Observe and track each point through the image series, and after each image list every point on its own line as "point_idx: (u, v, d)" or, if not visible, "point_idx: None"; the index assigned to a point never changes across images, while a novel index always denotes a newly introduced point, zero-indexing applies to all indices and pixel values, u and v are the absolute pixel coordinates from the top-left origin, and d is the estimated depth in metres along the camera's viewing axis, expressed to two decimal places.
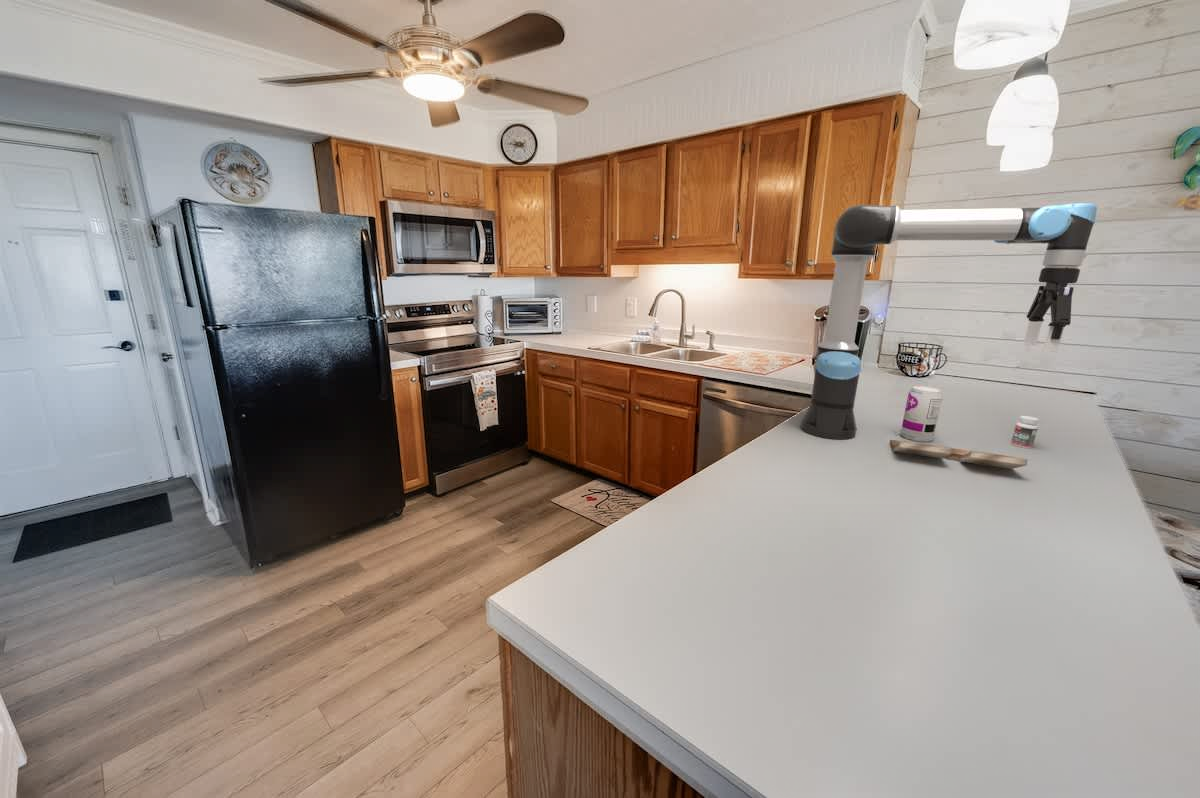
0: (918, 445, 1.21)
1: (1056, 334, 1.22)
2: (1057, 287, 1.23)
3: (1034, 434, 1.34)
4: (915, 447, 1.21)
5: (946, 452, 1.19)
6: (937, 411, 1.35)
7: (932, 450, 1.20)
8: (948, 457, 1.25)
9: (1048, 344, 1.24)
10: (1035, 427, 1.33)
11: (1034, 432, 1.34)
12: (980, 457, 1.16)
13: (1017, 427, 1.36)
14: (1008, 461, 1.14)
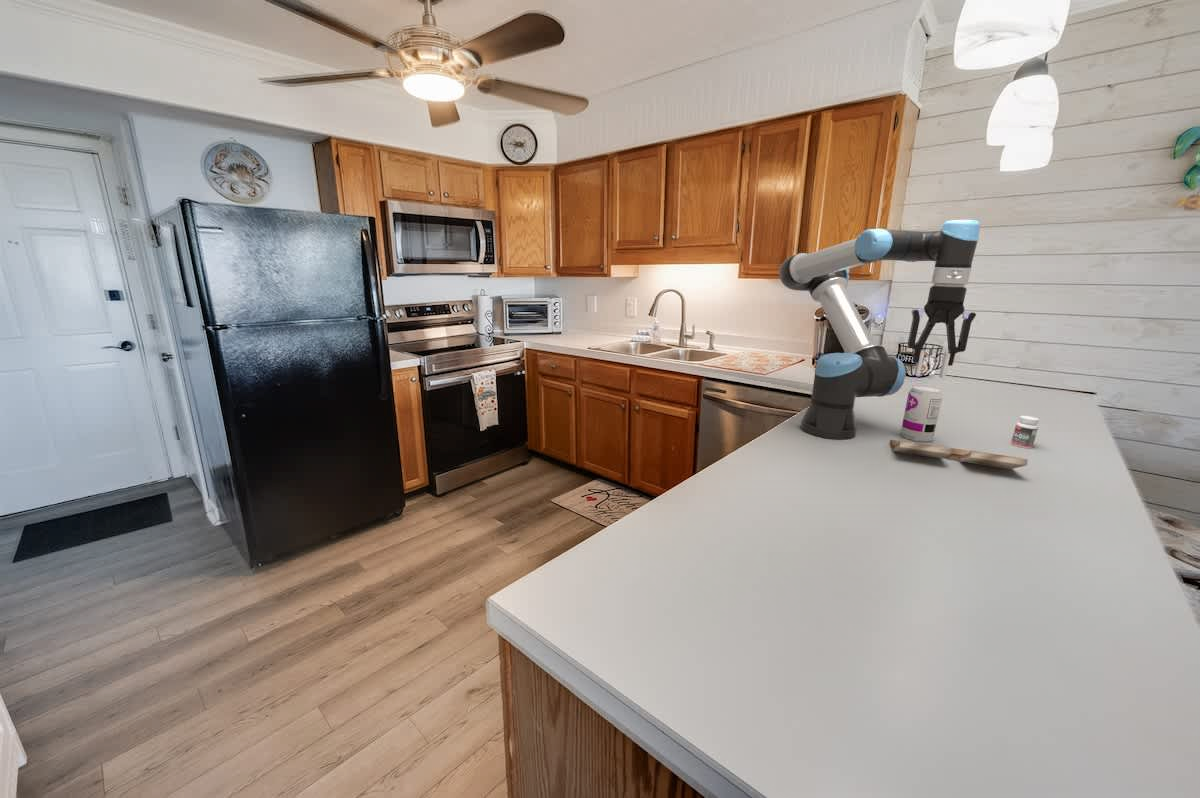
0: (918, 445, 1.21)
1: (913, 357, 1.27)
2: None
3: (1034, 434, 1.34)
4: (915, 447, 1.21)
5: (946, 452, 1.19)
6: (937, 411, 1.35)
7: (932, 450, 1.20)
8: (948, 457, 1.25)
9: (916, 367, 1.27)
10: (1035, 427, 1.33)
11: (1034, 432, 1.34)
12: (980, 457, 1.16)
13: (1017, 427, 1.36)
14: (1008, 461, 1.14)
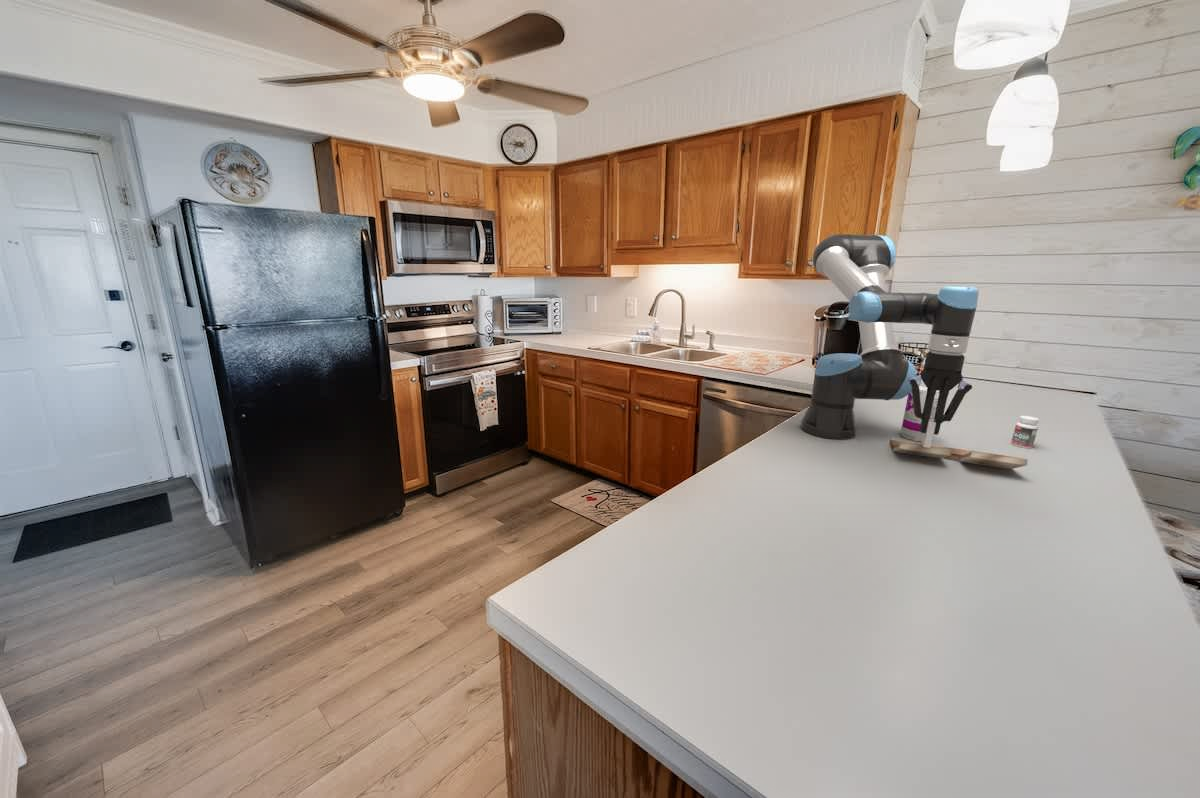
0: (918, 447, 1.21)
1: (920, 427, 1.20)
2: None
3: (1034, 434, 1.34)
4: (915, 449, 1.21)
5: (946, 454, 1.19)
6: None
7: (932, 452, 1.20)
8: (948, 457, 1.25)
9: (923, 437, 1.21)
10: (1035, 427, 1.33)
11: (1034, 432, 1.34)
12: (980, 457, 1.16)
13: (1017, 427, 1.36)
14: (1008, 461, 1.14)
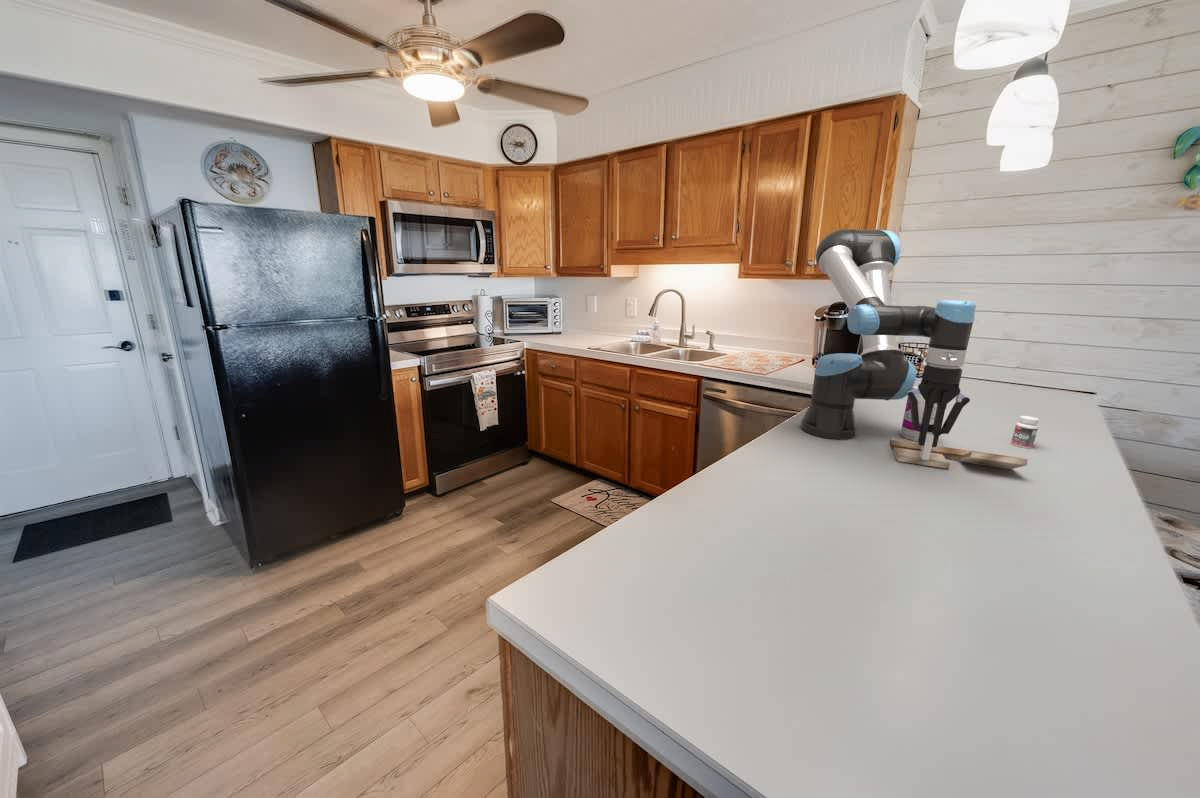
0: (916, 460, 1.21)
1: (919, 439, 1.20)
2: None
3: (1034, 434, 1.34)
4: (913, 461, 1.21)
5: (944, 467, 1.19)
6: None
7: (930, 465, 1.20)
8: (948, 457, 1.25)
9: (921, 449, 1.21)
10: (1035, 427, 1.33)
11: (1034, 432, 1.34)
12: (980, 457, 1.16)
13: (1017, 427, 1.36)
14: (1008, 461, 1.14)
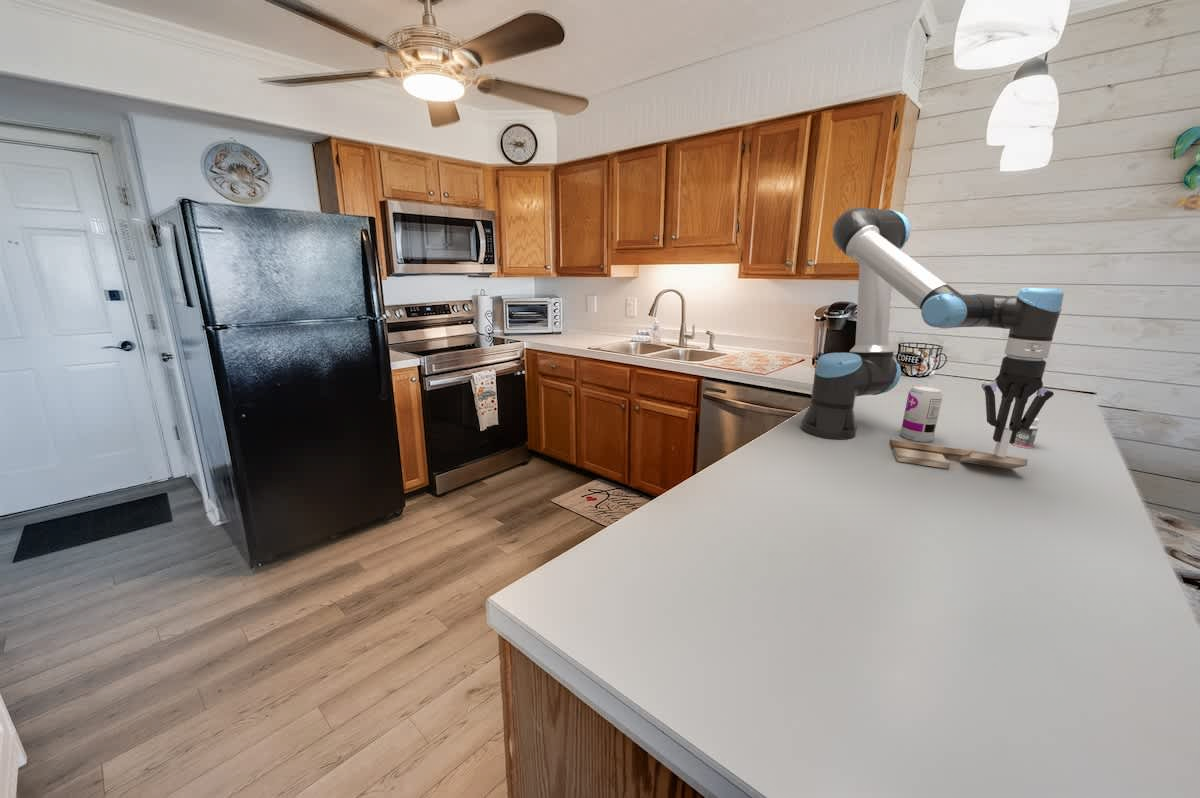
0: (916, 460, 1.21)
1: (994, 435, 1.14)
2: None
3: (1034, 434, 1.34)
4: (913, 462, 1.21)
5: (944, 467, 1.19)
6: (937, 411, 1.35)
7: (930, 465, 1.20)
8: (948, 457, 1.25)
9: (996, 445, 1.15)
10: (1035, 427, 1.33)
11: (1034, 432, 1.34)
12: (980, 457, 1.16)
13: None
14: (1008, 461, 1.14)
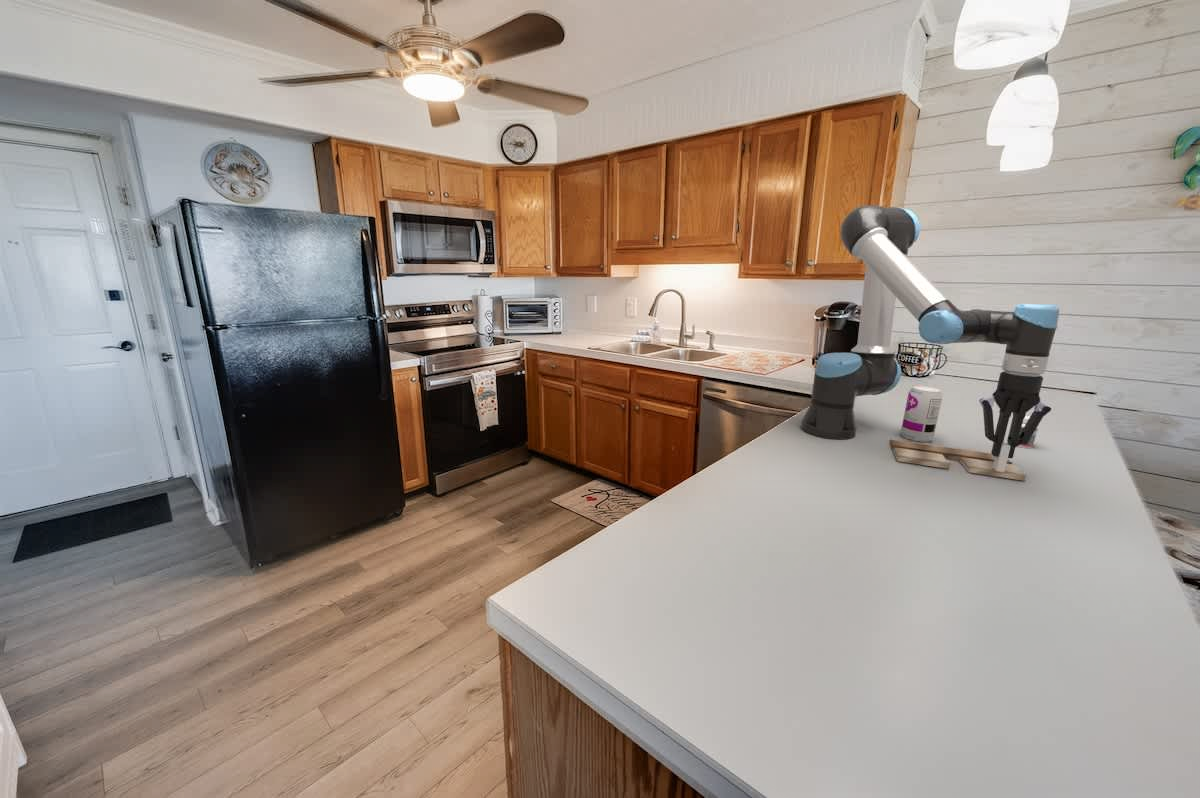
0: (916, 460, 1.21)
1: (992, 450, 1.14)
2: None
3: (1034, 434, 1.34)
4: (913, 462, 1.21)
5: (944, 467, 1.19)
6: (937, 411, 1.35)
7: (930, 465, 1.20)
8: (948, 457, 1.25)
9: (995, 460, 1.15)
10: None
11: (1034, 432, 1.34)
12: (978, 472, 1.16)
13: None
14: (1006, 476, 1.14)
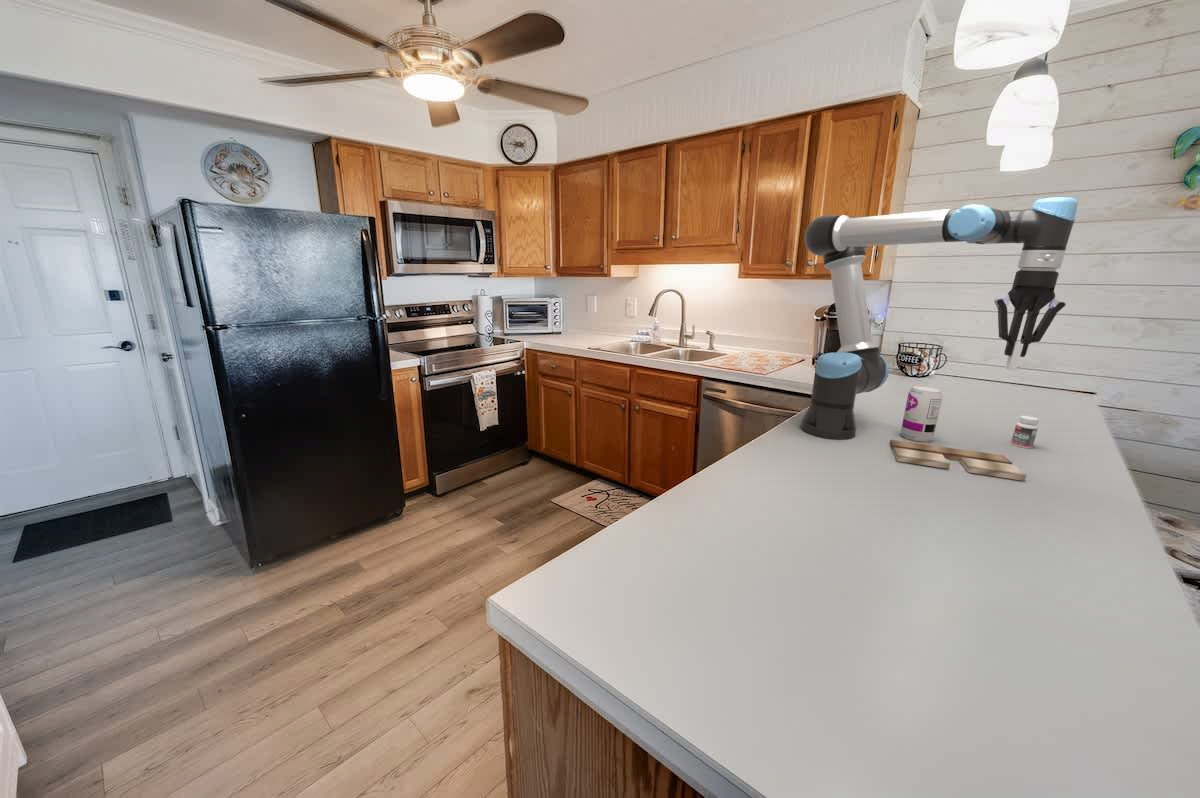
0: (916, 460, 1.21)
1: (1005, 349, 1.17)
2: None
3: (1034, 434, 1.34)
4: (913, 462, 1.21)
5: (944, 467, 1.19)
6: (937, 411, 1.35)
7: (930, 465, 1.20)
8: (948, 457, 1.25)
9: (1007, 360, 1.18)
10: (1035, 427, 1.33)
11: (1034, 432, 1.34)
12: (978, 472, 1.16)
13: (1017, 427, 1.36)
14: (1006, 477, 1.14)
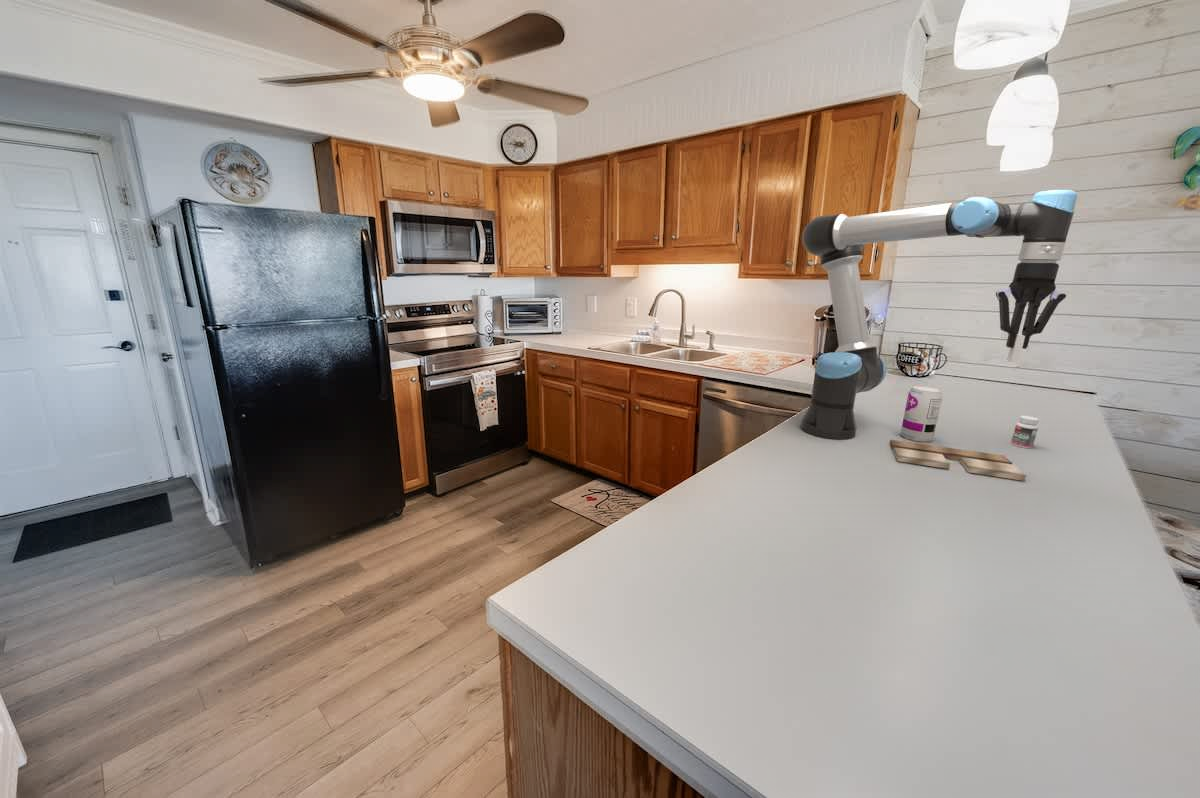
0: (916, 460, 1.21)
1: (1007, 342, 1.18)
2: None
3: (1034, 434, 1.34)
4: (913, 462, 1.21)
5: (944, 467, 1.19)
6: (937, 411, 1.35)
7: (930, 465, 1.20)
8: (948, 457, 1.25)
9: (1009, 352, 1.19)
10: (1035, 427, 1.33)
11: (1034, 432, 1.34)
12: (978, 472, 1.16)
13: (1017, 427, 1.36)
14: (1006, 477, 1.14)
